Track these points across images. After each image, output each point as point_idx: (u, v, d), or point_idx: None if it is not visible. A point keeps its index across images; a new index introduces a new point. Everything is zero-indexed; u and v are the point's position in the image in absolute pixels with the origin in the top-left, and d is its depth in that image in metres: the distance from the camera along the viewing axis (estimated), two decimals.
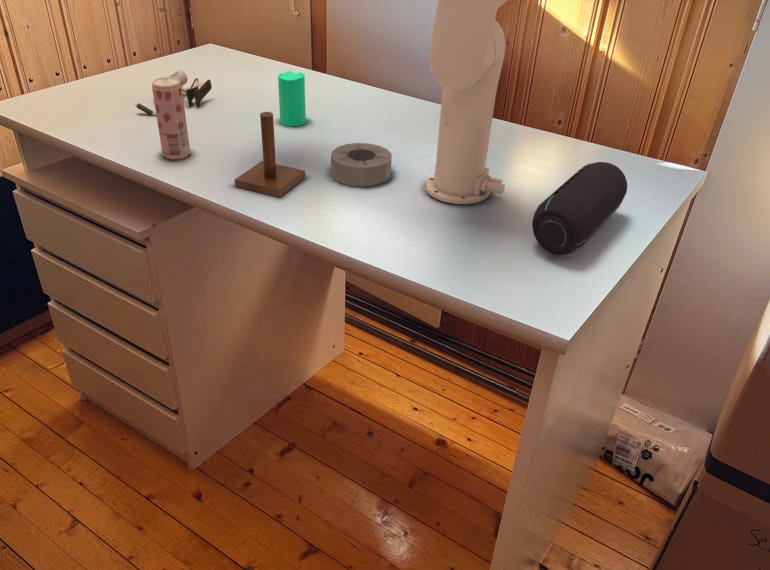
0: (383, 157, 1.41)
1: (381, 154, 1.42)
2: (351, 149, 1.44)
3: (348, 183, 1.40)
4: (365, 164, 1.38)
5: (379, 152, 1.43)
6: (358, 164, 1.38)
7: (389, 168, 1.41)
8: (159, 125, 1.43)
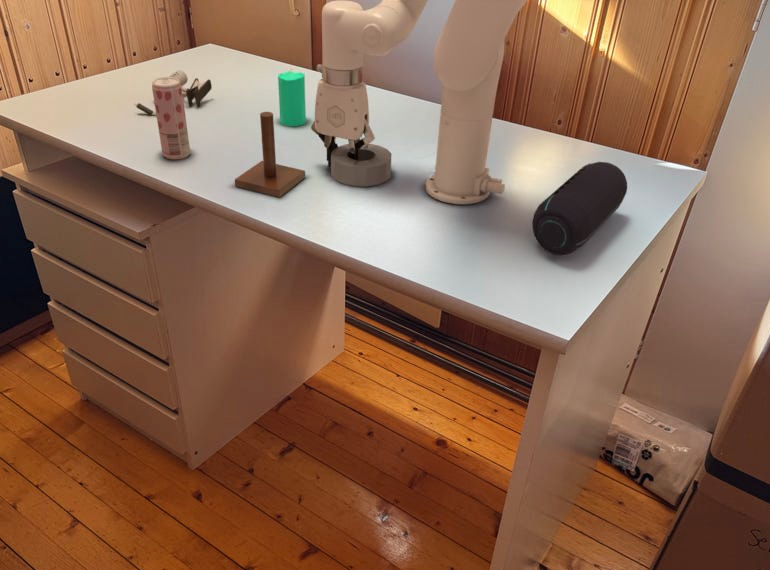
0: (383, 157, 1.41)
1: (381, 154, 1.42)
2: None
3: (348, 183, 1.40)
4: (365, 164, 1.38)
5: (379, 152, 1.43)
6: (358, 164, 1.38)
7: (389, 168, 1.41)
8: (159, 125, 1.43)
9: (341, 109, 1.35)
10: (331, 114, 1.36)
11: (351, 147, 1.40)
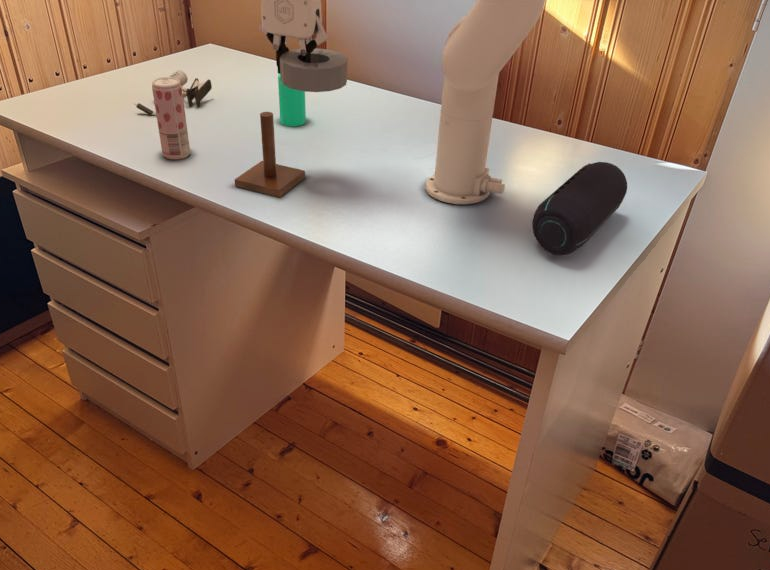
0: (337, 61, 1.27)
1: (336, 58, 1.28)
2: None
3: (298, 88, 1.26)
4: (316, 66, 1.24)
5: (334, 56, 1.29)
6: (308, 66, 1.24)
7: (344, 73, 1.27)
8: (159, 125, 1.43)
9: (289, 1, 1.21)
10: (279, 8, 1.22)
11: (302, 48, 1.26)
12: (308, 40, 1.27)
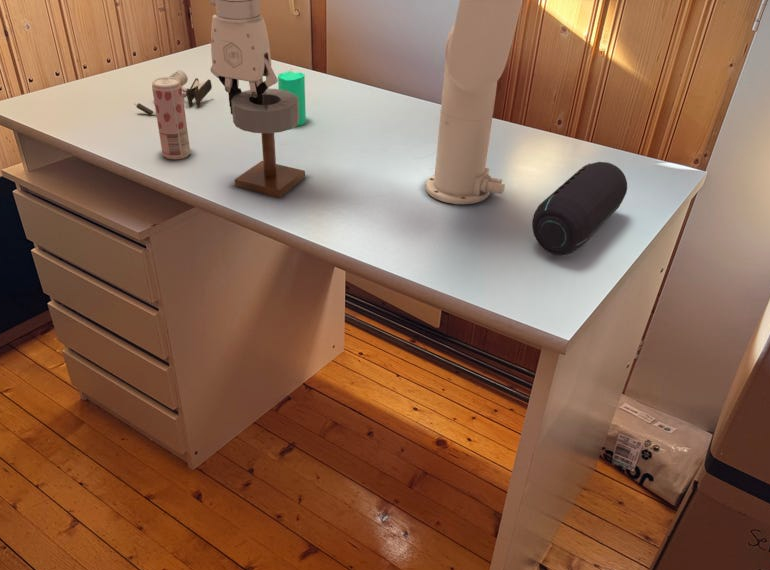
0: (288, 102, 1.29)
1: (287, 99, 1.30)
2: None
3: (249, 129, 1.28)
4: (266, 108, 1.26)
5: (285, 97, 1.31)
6: (259, 108, 1.26)
7: (295, 114, 1.29)
8: (159, 125, 1.43)
9: (237, 46, 1.23)
10: (228, 53, 1.24)
11: (253, 91, 1.28)
12: (259, 82, 1.29)
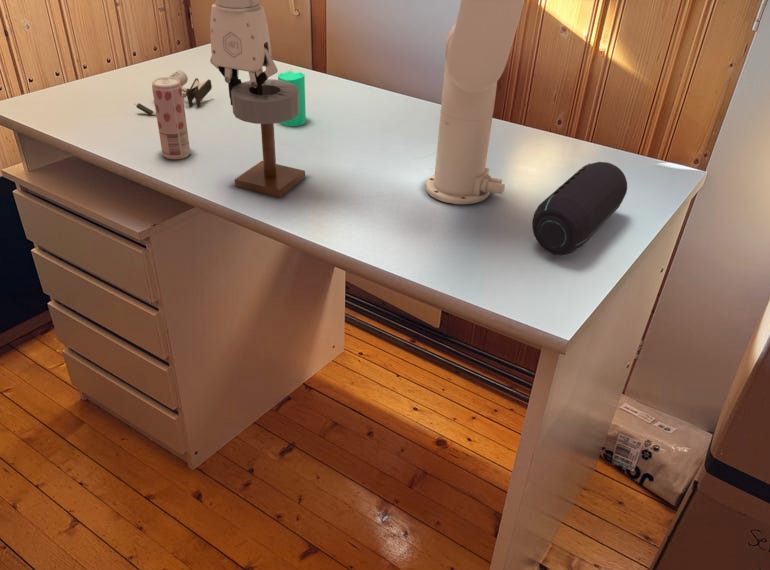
0: (288, 92, 1.28)
1: (287, 89, 1.29)
2: None
3: (249, 120, 1.27)
4: (266, 99, 1.25)
5: (285, 87, 1.30)
6: (258, 98, 1.25)
7: (295, 104, 1.28)
8: (159, 125, 1.43)
9: (237, 36, 1.22)
10: (227, 42, 1.23)
11: (252, 81, 1.27)
12: (259, 72, 1.28)
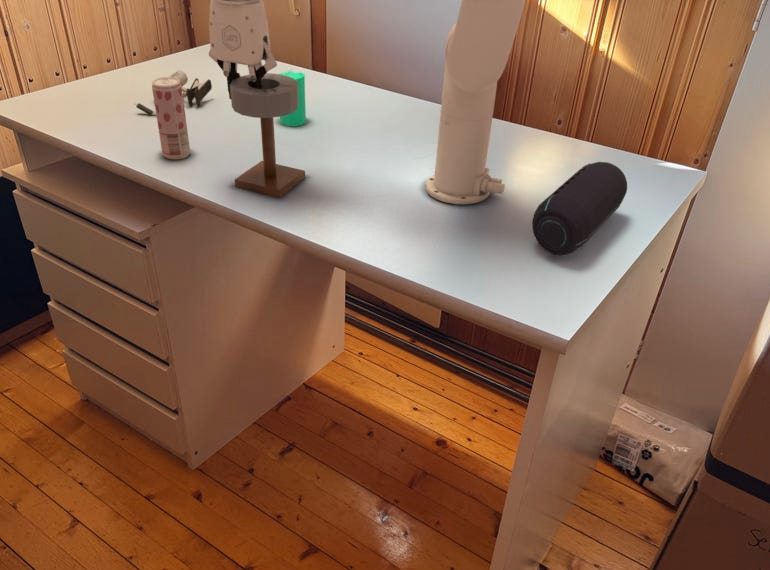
0: (287, 86, 1.27)
1: (286, 83, 1.28)
2: None
3: (248, 114, 1.26)
4: (265, 92, 1.24)
5: (284, 81, 1.29)
6: (258, 92, 1.24)
7: (294, 98, 1.28)
8: (159, 125, 1.43)
9: (236, 29, 1.21)
10: (226, 36, 1.23)
11: (252, 75, 1.27)
12: (258, 66, 1.27)
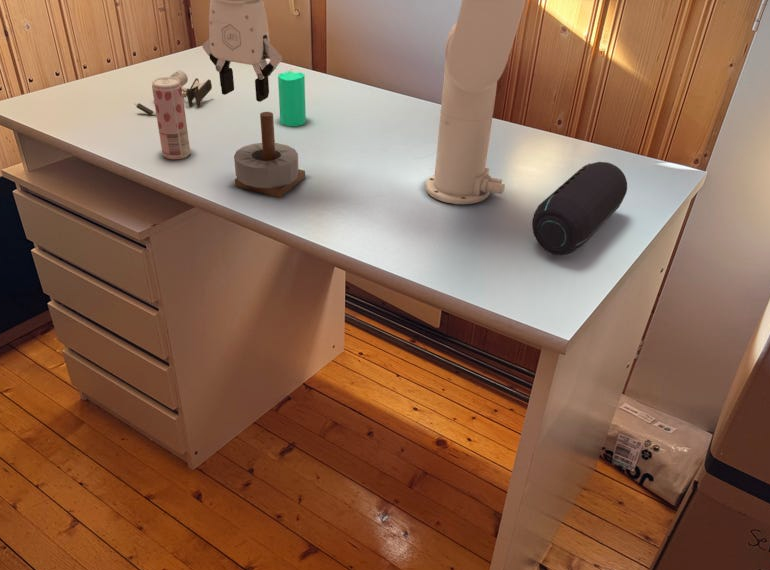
0: (288, 157, 1.36)
1: (287, 154, 1.37)
2: (257, 149, 1.39)
3: (251, 184, 1.35)
4: (267, 165, 1.33)
5: (285, 152, 1.38)
6: (260, 164, 1.33)
7: (294, 169, 1.36)
8: (159, 125, 1.43)
9: (236, 28, 1.21)
10: (226, 35, 1.23)
11: (259, 72, 1.26)
12: (263, 64, 1.27)
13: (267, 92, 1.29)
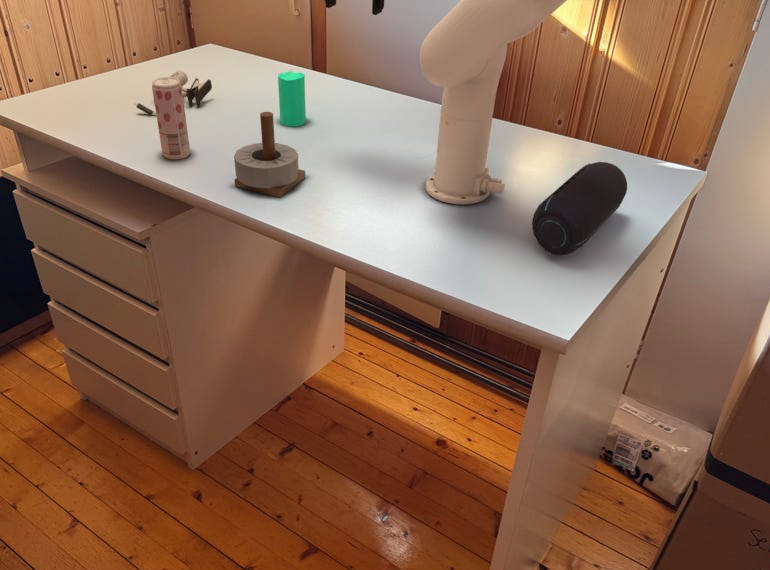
0: (288, 157, 1.36)
1: (287, 154, 1.37)
2: (257, 149, 1.39)
3: (251, 184, 1.35)
4: (267, 165, 1.33)
5: (285, 152, 1.38)
6: (260, 164, 1.33)
7: (294, 169, 1.36)
8: (159, 125, 1.43)
9: None
10: None
11: None
12: None
13: (382, 5, 1.31)
